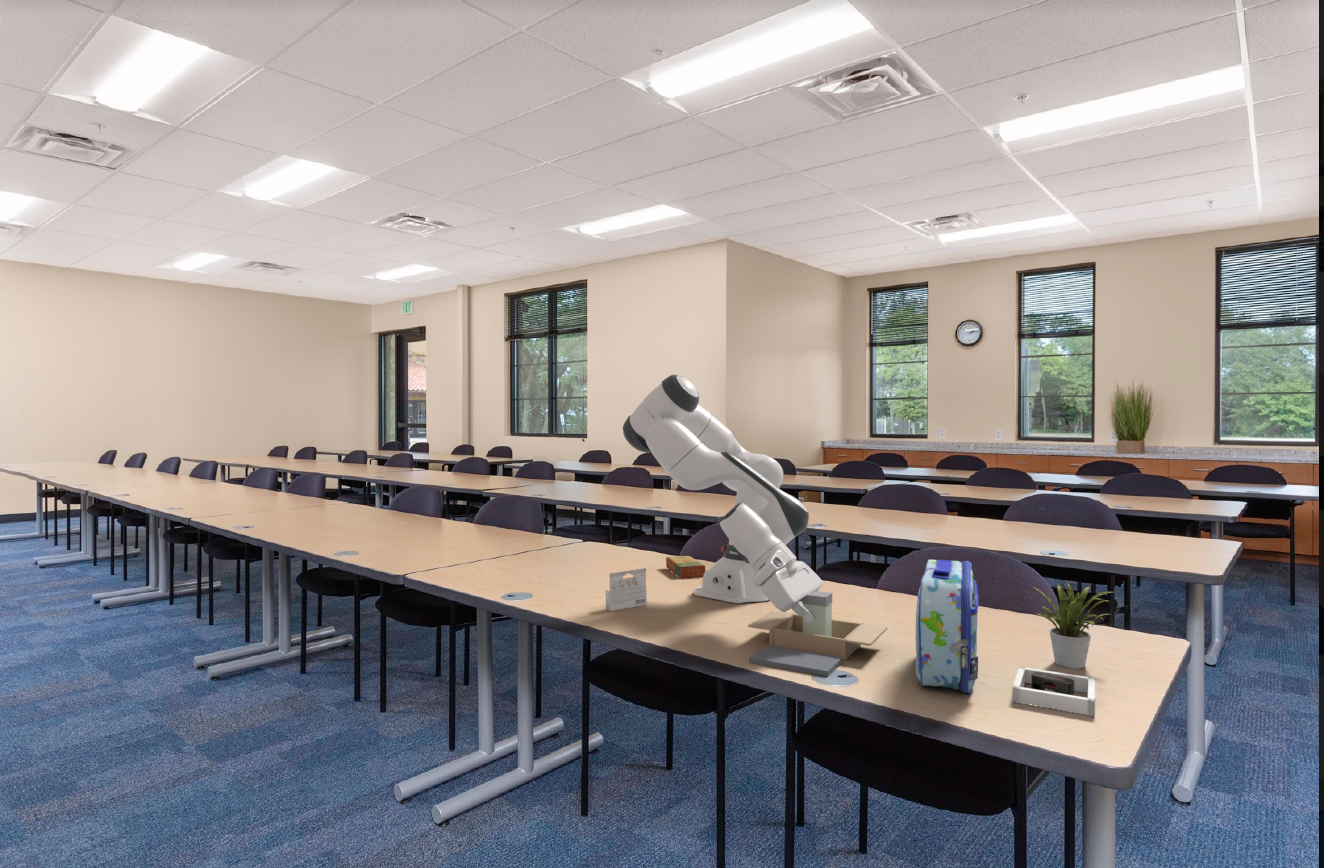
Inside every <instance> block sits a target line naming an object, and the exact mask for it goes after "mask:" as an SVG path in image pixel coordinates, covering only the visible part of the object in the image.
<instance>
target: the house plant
mask: <svg viewBox="0 0 1324 868" xmlns="http://www.w3.org/2000/svg"><path fill="white" fill-rule="evenodd" d="M1062 582H1063V584H1064V586H1065V589H1066V591H1067V593H1066V592H1065V590H1064V589H1063V587H1062V586H1061V585H1060V584H1058V583H1056V587H1057V593H1058V599H1059V600H1058V601H1059V608H1058V606H1057V605H1056V604H1055V602H1054V601H1053V600H1052V598H1051V597H1049V596H1048V595H1046V594H1045V593H1044V592H1043V591H1041V590H1040V589H1038V588H1037V587H1033V586H1032V588H1033V589H1035V590H1037V591H1038V592H1039V593H1041V594H1042V595H1043V596H1044V597H1045V598H1046V600H1048V602H1049V603H1050V605H1051V606H1052V607H1053V609H1054V611H1055V612H1056V613H1054V612H1053V611H1052V610H1050V608H1048V607H1046V606H1044V605H1041V608H1043V609H1044V610H1045V612H1046V613H1047V614H1044V613H1037V614H1035V615H1038V616H1040V617H1043V618H1045V619H1046V620H1048V621H1049V622H1051V623H1052V624H1053V625H1054V627H1052V628H1050V629H1049V637H1050V642H1051V647H1052V653H1053V659H1054V663H1055V664H1056V665H1057V666H1060V667H1064V668H1066V669H1067V668H1068V669H1073V670H1074V669H1078V670H1079V669H1084V668H1086V663H1087V657H1088V653H1089V647H1090V642H1091V637H1092V635H1091V633H1090V632H1088V631H1090V627H1089V625H1091V627H1092V628H1093V626H1094V625H1095V623H1096V622H1095V620H1097V619H1098V618H1100V619H1102V620H1104V618H1103V617H1102V616H1106V615H1107V616H1109V615H1111V613H1101V614H1099V615H1095V614H1091V613H1090V612H1091V611H1092V610H1093V609H1094V608H1095V607H1096V606H1098V605H1100V604H1101V603H1103V602H1109V600H1105V599H1104V598H1103V599H1102V598H1099V596H1102V595H1105V594H1111V593H1114V591H1102V592H1099V593H1096V594H1095V595H1092V597H1090V598H1089V599H1088V600H1087V601H1086V602H1085V603H1084V601H1085V600H1086V598H1087V597H1088V596H1087V595H1088V594H1089V589H1091V585H1090V586H1089V585H1088V586H1087V587H1085V588H1084V589H1083V590H1082V591H1081V592H1077V593H1074V590H1073V588H1072V586H1071V584H1070V583H1069V582H1068V581H1067V580H1065V582H1066V583H1065V582H1064V581H1062ZM1094 600H1098V601H1097V602H1095V603H1094V604H1093V605H1092V606H1091V607H1090V608H1089V609H1088V611H1087V612H1086V613H1085V615H1084V616H1082V617H1081V618H1080V616H1081V615H1082V614H1083V612H1084V611H1085V610H1086V609H1087V607H1088V606H1089V605H1090V604H1091V603H1092V602H1093V601H1094ZM1099 600H1100V601H1099ZM1089 613H1090V614H1089ZM1056 614H1057V615H1058V616H1057V615H1056ZM1091 617H1093V618H1091ZM1079 618H1080V619H1079ZM1088 618H1091V620H1087V619H1088ZM1085 629H1087V630H1088V631H1086V630H1085Z"/></svg>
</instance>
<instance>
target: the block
mask: <svg viewBox="0 0 1324 868" xmlns="http://www.w3.org/2000/svg"><path fill="white" fill-rule="evenodd" d="M820 591H821V590H820ZM820 591H812V592H810V593H809V594H807V595H806V597H804V598H803V599H802V604H803V606H804V607H805V608H806V609H807V610H808V611H811V612H812V613H813V614H814V615H815V617H816V618H815V619H814V620H813V621H812V622H810V623H807V622H806V621H805V620H804V619H803V633H809V634H815V635H822V636H829V637H832V619H833V614H832V613H833V610H832V609H833V606H832V604H833V592H828V591H827V592H826V591H821V592H820Z"/></svg>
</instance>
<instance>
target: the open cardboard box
mask: <svg viewBox="0 0 1324 868" xmlns="http://www.w3.org/2000/svg"><path fill="white" fill-rule="evenodd" d="M747 627H748V628H750V629H752V628H753V629H758V630H764V631H765V630H766V631H769V638H768V639H769V644H768V645H769V646H775V647H781V648H787V649H793V650H799V651H806V652H812V653H818V654H824V655H830V656H836V657H842V661H846V660H847V659H848V658H849V657H850V656H851V655H852V654H854V653H855V651H857V649H859V648H860V647H861V646H862V645H863V646H870V647H871V646H872V645H873V644H874V643H875V642H876V641H877V640H878V639H879V638H880V637H881V636H882V635H883V634H884V633H885V632H886V631H887V630H888V626H882V625H875V624H867V623H865V622H854V621H848V620H847V621H846V620H839V619H833V618H832V637H829V636H822V635H815V634H809V633H803V617H801V616H799V615H798V614H796V613H790V612H789V613H788V612H782V611H781V612H780V611H774V610H772V611H770V612H768V613H767V614H764V615H763V616H761V617H760V618H758V619H756V620H754V621H752V622H751V623H749V624H748V625H747Z"/></svg>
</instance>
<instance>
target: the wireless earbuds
mask: <svg viewBox="0 0 1324 868" xmlns="http://www.w3.org/2000/svg"><path fill="white" fill-rule="evenodd" d="M1024 688H1030V689H1036V690H1043V691H1049V692H1055V693H1061V694H1067V695H1073V696H1075V691H1074V680H1072V679H1068V678H1064V677H1060V676H1055V675H1051V674H1046V673H1042V672H1034V673H1033V674H1032V675H1031V685H1026V686H1025V685H1024Z"/></svg>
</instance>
